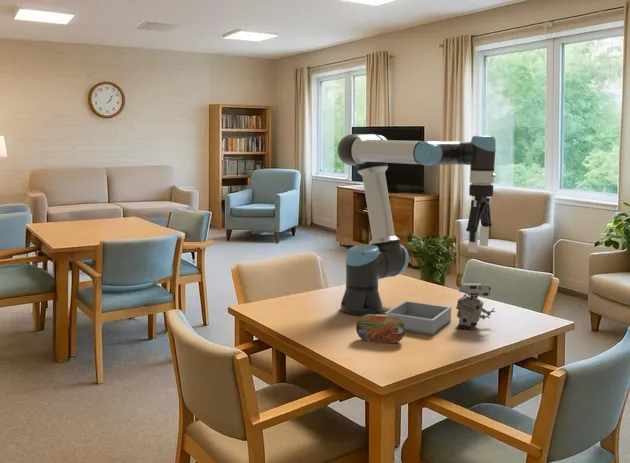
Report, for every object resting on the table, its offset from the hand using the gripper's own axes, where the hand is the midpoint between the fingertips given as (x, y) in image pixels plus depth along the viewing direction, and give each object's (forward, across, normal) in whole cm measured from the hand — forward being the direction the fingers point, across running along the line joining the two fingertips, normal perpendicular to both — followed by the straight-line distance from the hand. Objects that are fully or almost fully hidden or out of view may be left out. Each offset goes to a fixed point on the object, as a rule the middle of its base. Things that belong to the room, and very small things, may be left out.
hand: (478, 248), depth 206 cm
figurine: (+27, 0, 0) cm, 27 cm away
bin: (+26, -7, +17) cm, 32 cm away
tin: (+27, -30, +21) cm, 45 cm away
